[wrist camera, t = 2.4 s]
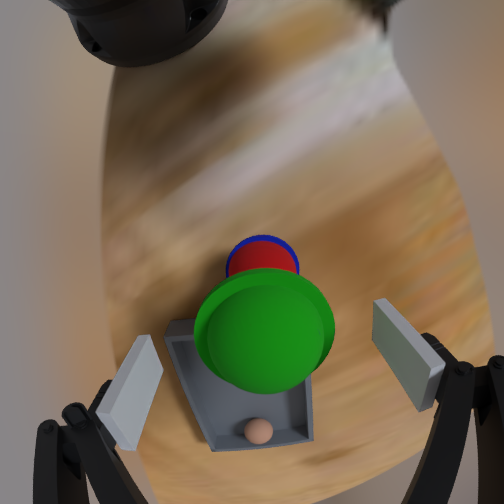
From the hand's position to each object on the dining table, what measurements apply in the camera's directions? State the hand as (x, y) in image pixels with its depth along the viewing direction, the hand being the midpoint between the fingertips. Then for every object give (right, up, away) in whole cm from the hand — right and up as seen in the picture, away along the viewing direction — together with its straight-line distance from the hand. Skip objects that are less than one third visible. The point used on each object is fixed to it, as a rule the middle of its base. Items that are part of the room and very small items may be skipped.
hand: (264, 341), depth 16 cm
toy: (0, +4, +11) cm, 12 cm away
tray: (-1, -10, +15) cm, 18 cm away
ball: (0, -16, +16) cm, 23 cm away
